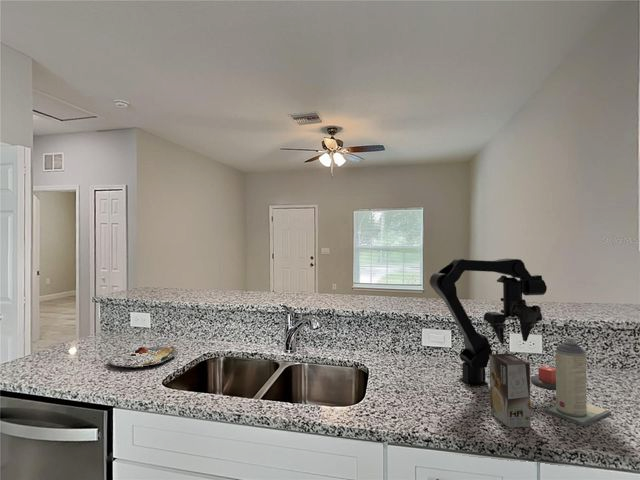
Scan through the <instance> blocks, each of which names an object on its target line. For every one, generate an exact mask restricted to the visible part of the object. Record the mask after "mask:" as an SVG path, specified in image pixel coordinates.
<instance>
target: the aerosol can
mask: <svg viewBox="0 0 640 480" xmlns="http://www.w3.org/2000/svg"><path fill="white" fill-rule="evenodd" d="M565 339H566V340H565V341H563V343H560V345H559V346H556V347H555V348H556V349H555V368H556V390H555V405H556V410H557V411H558V412H559V413H561V414H564V415H566V416H570V417H575V418H583V417H586V415H587V413H586V412H587V354H586V350H585V349H584V348H582V347H581V346H580V345H579V344H578V343H576V341H575V338H574V337H572V336H571V337H570V336H567V337H566V338H565Z"/></svg>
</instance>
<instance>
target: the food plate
mask: <svg viewBox="0 0 640 480" xmlns="http://www.w3.org/2000/svg"><path fill="white" fill-rule="evenodd" d="M148 350H152V351H158V352H157V354H156V355H157V356H156V355H155V354H154V355H153V356H152V357H155V356H156V357H155V358H156V359H153V360H156V361H155V362H148V363H147V362H145V363H143V364H140V363H138V365H143V366H148V367H149V365H157V364H161V363H164V362H165V361H167V360H170V359H172V358H173V357H175V356H177V355H179V354H178V351H177V350H176V349H175V346H169V347H165V346H159V347H158V346H153V347H145V346H143V347H142V346H141V347H138V348H137V349H133V350H130V351H125V352H122V353H120V354H118V355H116V356H114V357H111V358H110V359H109V360H108V363H109V364H110V365H112V366H114V367H121V366H120V365H115V364H113V363H112V359H114V358H116V357H117V356H119V355H122V354H124V353H129V352H134V351H135V353H139V354H142V353H148V354H152V353H150V352H149V351H148ZM170 354H171V355H170ZM169 355H170V356H169ZM130 356H136V354H131V355H130ZM140 356H141V355H140ZM147 356H148V355H147ZM168 356H169V357H168ZM148 359H149V358H148ZM151 360H152V359H151ZM159 360H161V362H157V361H159ZM156 362H157V363H156ZM122 367H124V368H138V367H139V368H141V367H140V366H136V365H133V366H127V365H124V366H122Z"/></svg>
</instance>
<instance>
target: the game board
mask: <svg viewBox="0 0 640 480" xmlns="http://www.w3.org/2000/svg"><path fill="white" fill-rule="evenodd" d="M611 411H612V410H608V409H606V408H603V407H600V406H596V405H593V404H590V403H587V412H586V413H587V415H586V417H583V418H575V417H570V416H566V415H564V414H561V413H559V412H558V411H557V410H556V404H553V405H551V406H549V407H546V408H544V412H545V413H547V414H551V415H552V416H555V417H559V418H560V419H564V420H567V421H568V422H572V423H573V424H576V425H580V426H582V427H584V428H585V427H587V426H589V425H592V424H593V423H595V422H598V421H599V420H601V419H604V418H605V417H606V416H609V415H611V413H612V412H611Z"/></svg>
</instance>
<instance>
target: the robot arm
mask: <svg viewBox="0 0 640 480" xmlns="http://www.w3.org/2000/svg"><path fill="white" fill-rule="evenodd" d="M465 271H467V272H469V271H470V272H487V273H489V272H490V273H496V274H501V276H500V277H499V278H498V279H496V283H502V288H503V289H502V290H503V293H502V294H503V295H502V296H503V297H500V301H501V302H503V305H502V306H503V309H500V312H495V311H489V312H488V311H487V312H485V313H484V315H483V321H484V322H487V324H490V326H491V328H492V329H493V331H494V333H495V336H496V337H497V339H498V341H499V343H500V344H504V339H505V338H504V335H505V333H504V329H505V327H506V326H507V323H505V322H506V321H507V320H508V321H509V320H519V325H520V326H519V327H520V331H521V338H522V340H523V342H527V341H528V338H529V336H530V334H531V331H532V328H533V327H534V326H535V325H537V324H539V323H540V322H542V321H543V314H542V309H541V307H540V306H539V305H532V306H529V305H527V301H526V299H524V298H523V296H544V295H545V294H546V292H547V287H548V286H547V285H546V282H545V280H543V275H538V274H534V275H531V273H530V272H529V270H527V268H526V265H525V262H523V260H522V259H519V258H500V259H496V260H495V259H494V260H478V259H464V258H454V259H453V260H451V262H449V264H447V265H446V266H444V267H443V268H441V269H440V270H439V271H438V272H435V273H433V274H432V275H431V276H430V278H429V285H430V287H431V289H432V290H433V291H434V292H435V293H436V294H437V295H438V296H439V297H440V298H441V299H442V300H443V301H444V303H445V305H446V307H447V308H448V311H449V312H450V314H451V316H452V318H453V320H454V322H455V323H456V326H457V327H458V328H459V331H460V332H461V334H462V337H463V344H464V348H463V350H462V351H461V352H460V353H459V355H458V356H459V358H460V360H461V361H463V362H462V364H461V366H462V369H461V370H462V372H461V373H462V375H461V376H462V377H460V378H459V381H462V382H463V383H464V384H466V385H468V386H470V387H478V386H487V385H488V384H489V383H488V382H487V381H486V377H487V375H486V368H487V367H488V364H489V362H490V361H489V355H490V354H493V350H492V348H493V346H492V345H491V344H490V343H489V339H488V337H487V336H486V335H484V334H482V333H480V332H477V330H476V329H475V327H474V324H473V323H472V321H471V319H470V317H469V315H468V314H467V312H466V310H465V308H464V306H463V305H462V303H461V301H460V299H459V297H458V292H457V286H456V283H457V282H458V281H459V280H460V278H461V277H462V275H463V274H464V272H465ZM507 276H510V277H507Z"/></svg>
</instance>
